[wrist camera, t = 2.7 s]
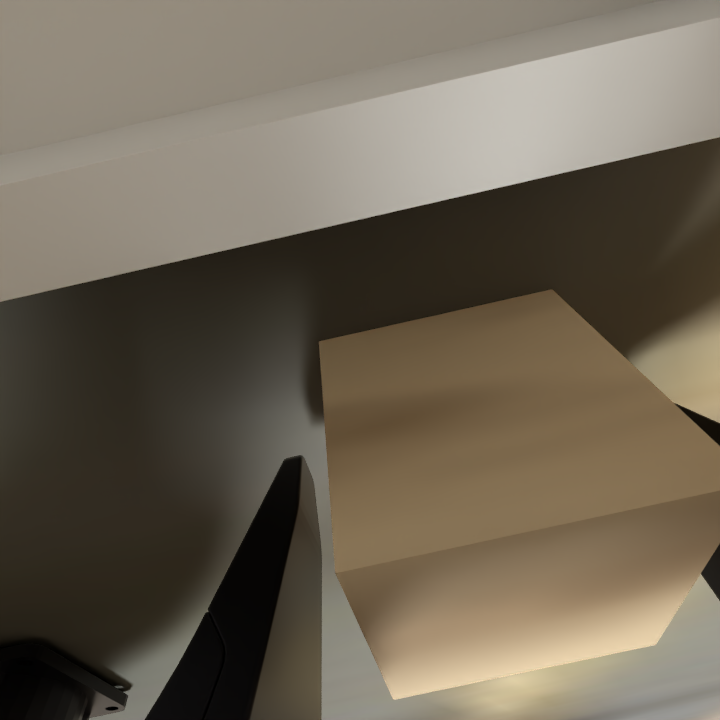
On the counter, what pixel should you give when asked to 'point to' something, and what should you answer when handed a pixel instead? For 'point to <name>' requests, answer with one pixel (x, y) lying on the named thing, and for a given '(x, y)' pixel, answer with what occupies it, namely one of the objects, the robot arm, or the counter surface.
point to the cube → (508, 493)
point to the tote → (314, 114)
